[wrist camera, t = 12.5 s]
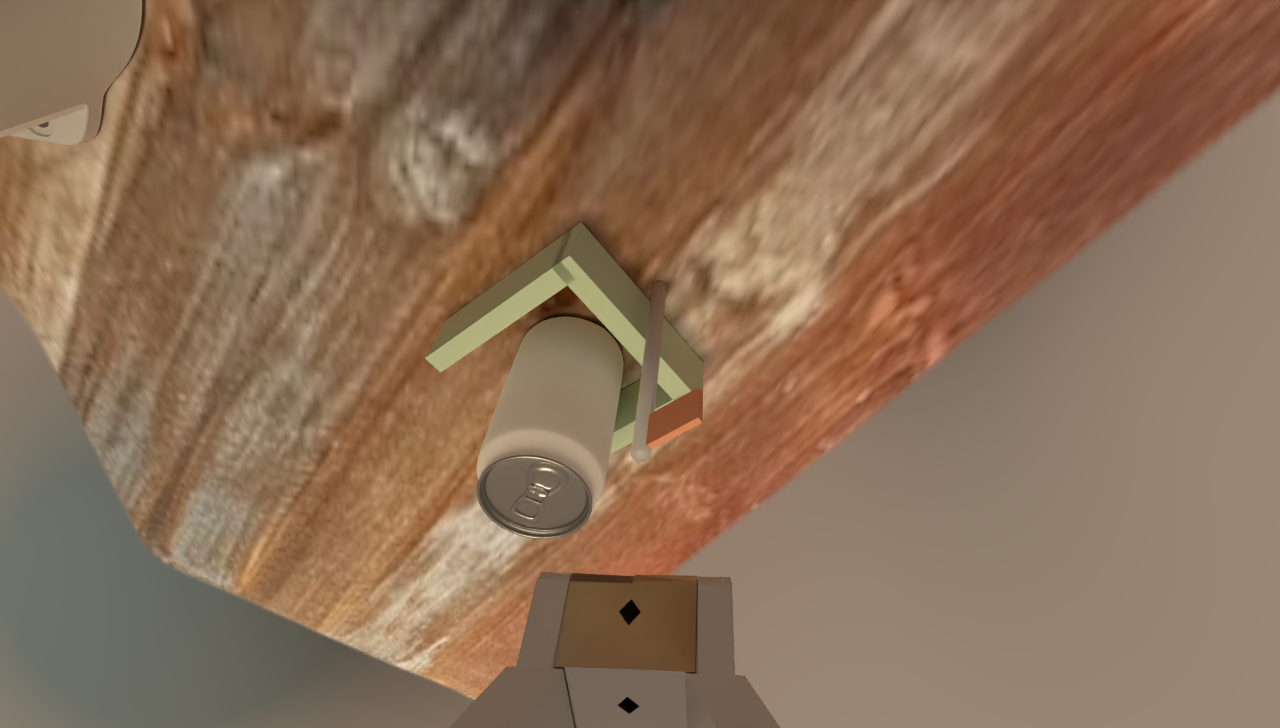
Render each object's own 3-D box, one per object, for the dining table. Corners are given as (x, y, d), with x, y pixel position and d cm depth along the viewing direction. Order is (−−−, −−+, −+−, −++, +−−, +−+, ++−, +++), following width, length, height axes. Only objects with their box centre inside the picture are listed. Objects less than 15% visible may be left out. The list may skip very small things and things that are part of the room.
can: (643, 341, 44) (624, 483, 34) (597, 413, 47) (568, 561, 38) (543, 294, 42) (494, 429, 33) (504, 372, 46) (449, 515, 36)
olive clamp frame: (570, 438, 49) (528, 620, 37) (445, 320, 44) (354, 486, 33) (759, 330, 43) (777, 507, 31) (638, 179, 38) (608, 323, 27)
